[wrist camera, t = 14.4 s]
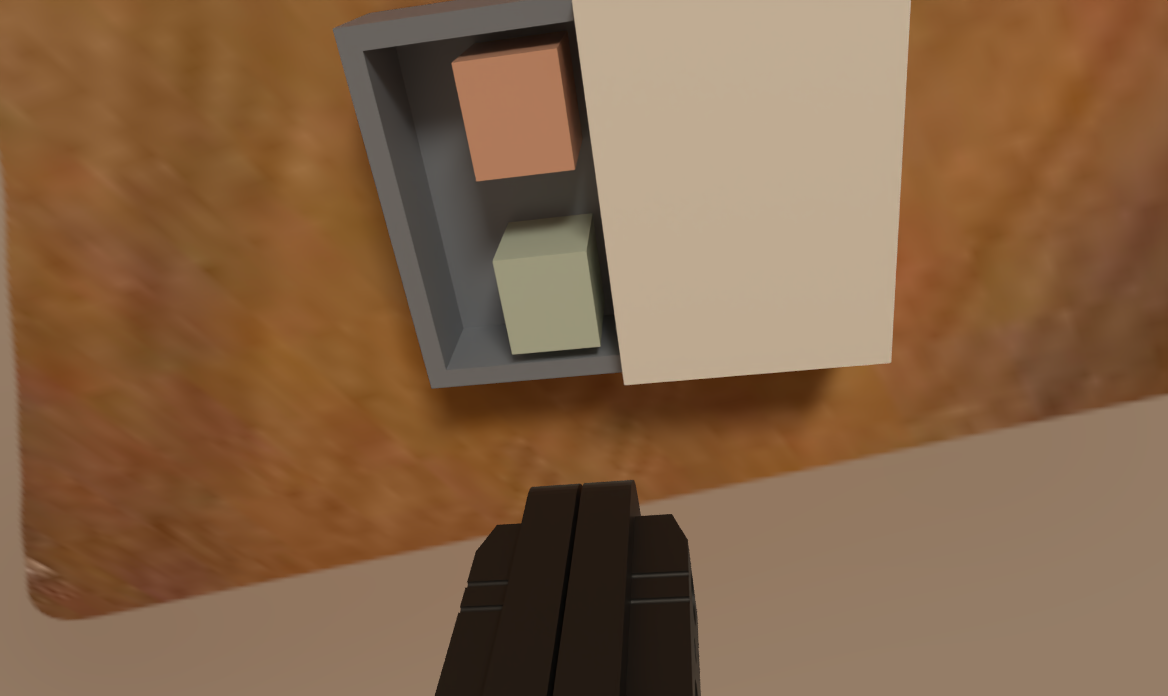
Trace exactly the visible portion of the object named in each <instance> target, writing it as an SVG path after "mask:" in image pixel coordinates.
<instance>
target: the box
mask: <svg viewBox="0 0 1168 696" xmlns="http://www.w3.org/2000/svg"><path fill="white" fill-rule="evenodd" d="M565 30H567V31H568V38H569V45H570V52H571V59H572V67H573V74H574V81H575V88H576V95H577V102H578V109H579V116H580V123H581V130H582V138H583V140H582V144H581V148H580V152H579V156H578V160H577V164H576V168H575V170H569V171H561V172H552V173H544V174H535V175H527V176H518V177H510V178H502V179H493V180H485V181H476V177H475V173H474V168H473V163H472V158H471V154H470V149H469V144H468V139H467V135H466V130H465V125H464V120H463V116H462V111H461V106H460V102H459V97H458V92H457V87H456V83H455V78H454V73H453V68H452V64H451V63H452V62H453V61H454V60H455V59H456V58H458V57H459V56H460V55H461V54H462V53H463V52H465V51H466V50H467V49H468V48H469V47H470V46H472V45H473V44H474V43H480V42H487V41H494V40H501V39H508V38H515V37H522V36H529V35H536V34H544V33H551V32H558V31H565ZM333 32H334V35H335V39H336V43H337V46H338V50H339V54H340V57H341V61H342V65H343V68H344V72H345V75H346V79H347V83H348V86H349V90H350V94H351V97H352V101H353V104H354V108H355V112H356V115H357V119H358V123H359V126H360V130H361V134H362V137H363V141H364V144H365V148H366V152H367V155H368V159H369V163H370V166H371V170H372V174H373V177H374V181H375V184H376V188H377V192H378V195H379V199H380V203H381V206H382V210H383V214H384V217H385V221H386V224H387V228H388V232H389V235H390V239H391V243H392V246H393V250H394V254H395V257H396V261H397V264H398V268H399V272H400V275H401V279H402V283H403V286H404V290H405V294H406V297H407V301H408V304H409V308H410V312H411V315H412V319H413V323H414V326H415V330H416V334H417V337H418V341H419V344H420V348H421V352H422V355H423V359H424V363H425V366H426V370H427V374H428V377H429V381H430V384H431V388H444V387H455V386H467V385H479V384H490V383H502V382H513V381H525V380H537V379H548V378H560V377H572V376H583V375H595V374H606V373H618V372H622V365H621V358H620V351H619V343H618V336H617V329H616V321H615V314H614V307H613V299H612V292H611V284H610V277H609V270H608V262H607V255H606V248H605V240H604V233H603V226H602V218H601V211H600V204H599V196H598V189H597V182H596V174H595V167H594V160H593V152H592V145H591V138H590V130H589V123H588V116H587V108H586V101H585V94H584V86H583V79H582V71H581V64H580V57H579V49H578V42H577V35H576V27H575V20H574V13H573V5H572V0H455V1H448V2H441V3H434V4H428V5H421V6H414V7H408V8H401V9H394V10H387V11H381V12H374V13H369V14H366V15H364V16H361V17H359V18H357V19H354V20H352V21H350V22H347V23H345V24H343V25H340V26H338V27H336V28H333ZM589 213H593V221H594V228H595V235H596V242H597V249H598V256H599V263H600V270H601V277H602V284H603V292H604V299H605V305H604V315H603V326H602V336H601V346H600V347H591V348H580V349H569V350H558V351H547V352H535V353H524V354H513V355H512V351H511V347H510V342H509V337H508V332H507V328H506V323H505V318H504V313H503V309H502V304H501V299H500V294H499V290H498V285H497V280H496V276H495V271H494V266H493V259H494V256H495V254H496V251H497V249H498V246H499V244H500V242H501V239H502V237H503V234H504V232H505V230H506V227H507V225H508V223H509V222H518V221H527V220H536V219H545V218H554V217H562V216H571V215H580V214H589Z"/></svg>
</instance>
